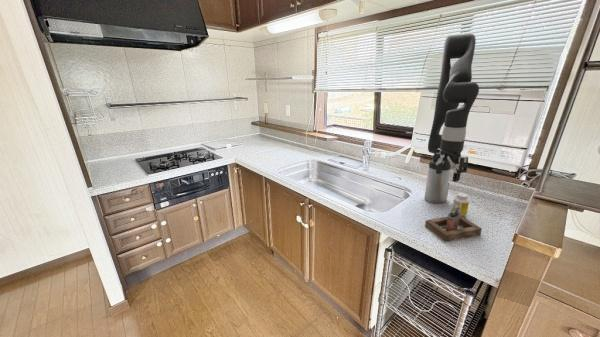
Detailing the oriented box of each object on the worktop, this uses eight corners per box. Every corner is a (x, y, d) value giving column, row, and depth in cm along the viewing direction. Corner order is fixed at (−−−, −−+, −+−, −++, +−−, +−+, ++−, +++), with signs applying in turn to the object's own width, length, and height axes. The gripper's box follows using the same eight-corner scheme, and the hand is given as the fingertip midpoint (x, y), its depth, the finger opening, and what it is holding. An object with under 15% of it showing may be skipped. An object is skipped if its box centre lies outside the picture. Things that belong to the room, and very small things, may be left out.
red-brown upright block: (451, 236, 95) (456, 213, 92) (442, 232, 97) (446, 210, 94) (459, 228, 100) (464, 206, 96) (450, 225, 102) (454, 203, 99)
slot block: (457, 220, 105) (458, 214, 104) (480, 235, 95) (481, 228, 94) (424, 226, 102) (425, 220, 101) (445, 242, 92) (446, 235, 91)
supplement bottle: (467, 214, 109) (471, 194, 106) (464, 219, 105) (468, 198, 102) (453, 210, 113) (456, 190, 109) (449, 215, 109) (453, 195, 105)
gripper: (430, 135, 98) (426, 172, 103) (460, 143, 85) (453, 185, 90) (446, 133, 99) (441, 170, 105) (478, 141, 86) (469, 182, 92)
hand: (446, 177), depth 98 cm, fingers open, 8 cm apart
